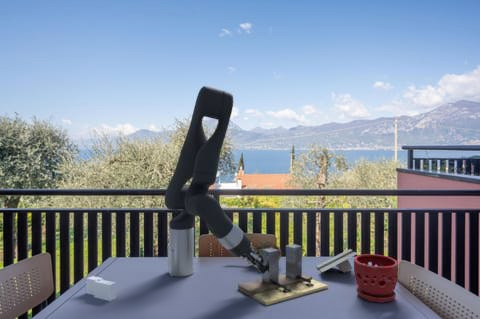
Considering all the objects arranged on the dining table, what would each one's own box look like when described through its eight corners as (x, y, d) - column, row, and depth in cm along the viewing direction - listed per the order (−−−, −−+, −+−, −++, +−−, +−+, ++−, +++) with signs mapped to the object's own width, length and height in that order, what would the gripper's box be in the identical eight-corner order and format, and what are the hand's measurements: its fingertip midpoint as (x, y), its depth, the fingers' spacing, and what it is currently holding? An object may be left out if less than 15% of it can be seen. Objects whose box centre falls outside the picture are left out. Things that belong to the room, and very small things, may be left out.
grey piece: (337, 291, 126) (369, 264, 126) (321, 272, 127) (352, 245, 128) (330, 283, 142) (358, 258, 142) (316, 265, 144) (343, 241, 144)
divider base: (260, 302, 107) (260, 261, 107) (237, 289, 117) (238, 251, 117) (321, 285, 121) (321, 249, 121) (296, 275, 131) (296, 241, 131)
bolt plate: (266, 305, 104) (266, 301, 104) (252, 297, 110) (252, 294, 110) (327, 288, 118) (327, 285, 118) (313, 282, 124) (313, 279, 124)
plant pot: (348, 289, 118) (348, 253, 117) (388, 289, 117) (388, 254, 117) (360, 305, 104) (361, 265, 104) (405, 306, 104) (405, 266, 104)
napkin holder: (123, 301, 108) (123, 283, 107) (82, 308, 103) (82, 289, 102) (117, 286, 121) (117, 269, 121) (81, 291, 116) (81, 274, 116)
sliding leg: (281, 291, 111) (281, 256, 111) (261, 281, 120) (262, 249, 120) (291, 288, 113) (291, 255, 113) (271, 279, 122) (271, 247, 122)
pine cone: (282, 263, 146) (282, 239, 146) (280, 270, 137) (280, 244, 137) (230, 260, 150) (230, 237, 150) (225, 267, 141) (225, 242, 141)
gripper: (252, 233, 107) (283, 267, 114) (229, 226, 118) (259, 257, 125) (237, 253, 104) (269, 286, 111) (215, 243, 115) (246, 274, 122)
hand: (264, 270), depth 118 cm, fingers closed
